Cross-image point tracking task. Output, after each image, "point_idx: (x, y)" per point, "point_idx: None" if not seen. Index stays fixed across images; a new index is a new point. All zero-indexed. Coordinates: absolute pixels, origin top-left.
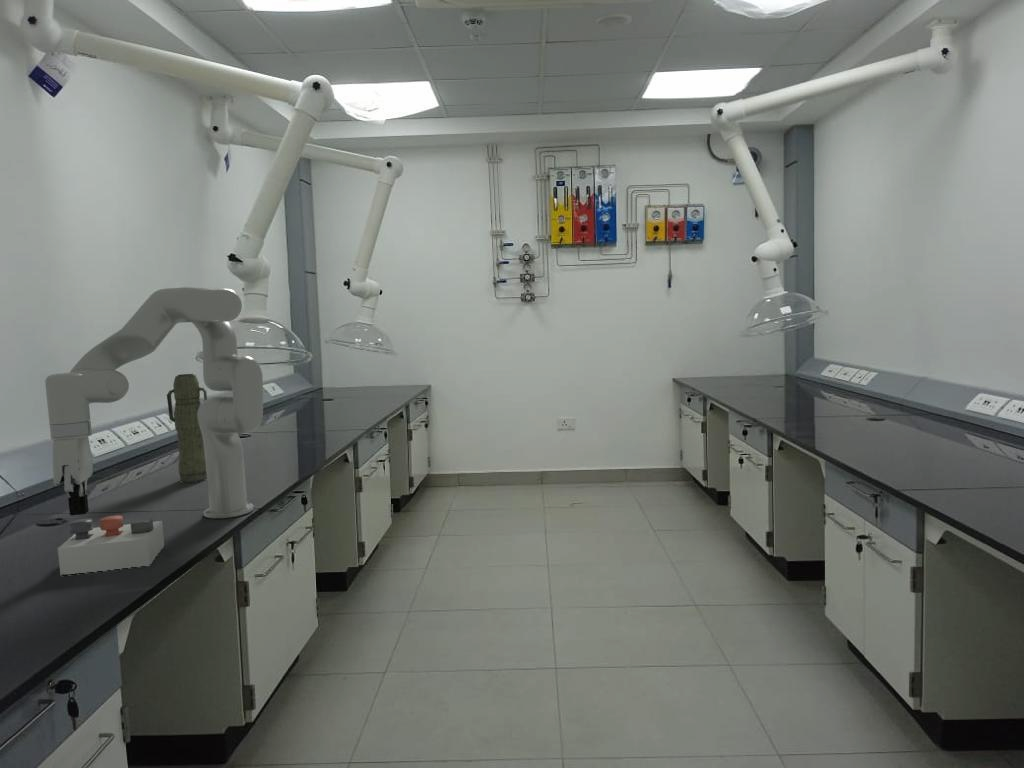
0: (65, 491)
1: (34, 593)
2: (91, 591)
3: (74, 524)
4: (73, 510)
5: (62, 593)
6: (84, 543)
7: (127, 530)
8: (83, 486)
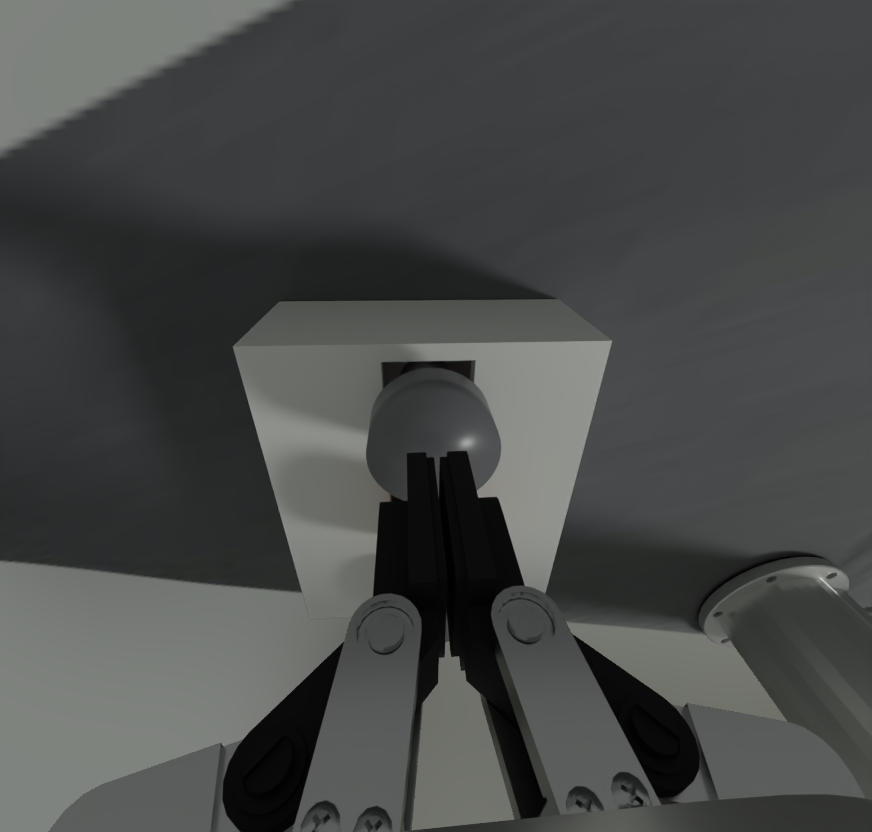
0: (72, 810)
1: (73, 264)
2: (109, 458)
3: (367, 443)
4: (379, 509)
5: (83, 376)
6: (300, 447)
7: None
8: (501, 765)
